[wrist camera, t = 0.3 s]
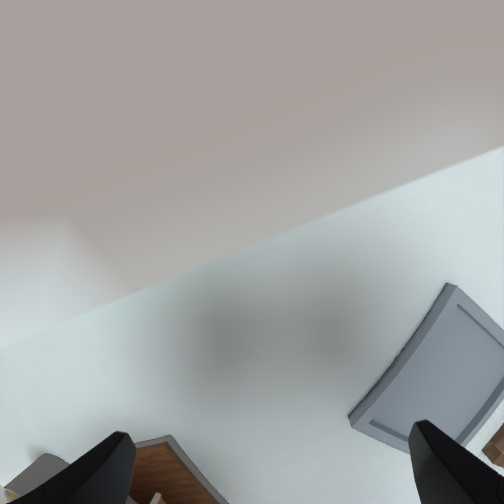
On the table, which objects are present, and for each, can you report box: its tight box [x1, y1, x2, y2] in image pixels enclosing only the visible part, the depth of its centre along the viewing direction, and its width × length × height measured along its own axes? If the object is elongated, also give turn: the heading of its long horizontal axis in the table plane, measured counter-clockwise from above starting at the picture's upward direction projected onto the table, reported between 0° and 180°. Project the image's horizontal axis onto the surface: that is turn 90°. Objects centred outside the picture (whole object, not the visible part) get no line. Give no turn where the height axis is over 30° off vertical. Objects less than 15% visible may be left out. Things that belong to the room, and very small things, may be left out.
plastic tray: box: [348, 283, 504, 454], centre depth 21 cm, size 14×14×2 cm
